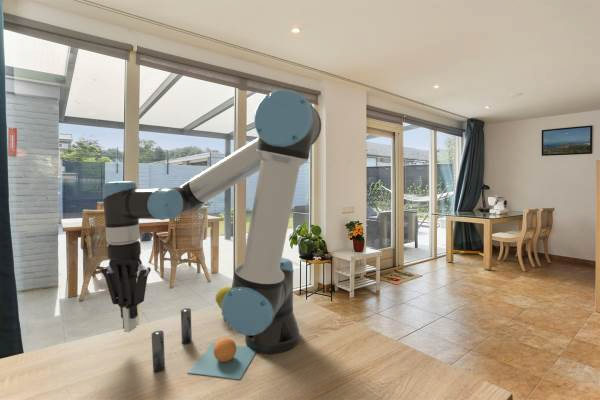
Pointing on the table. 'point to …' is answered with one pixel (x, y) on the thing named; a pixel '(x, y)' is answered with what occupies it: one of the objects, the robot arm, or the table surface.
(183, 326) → the right post
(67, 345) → the table surface
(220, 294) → the light bulb
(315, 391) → the table surface
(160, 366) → the left post
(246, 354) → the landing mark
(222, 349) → the ball
